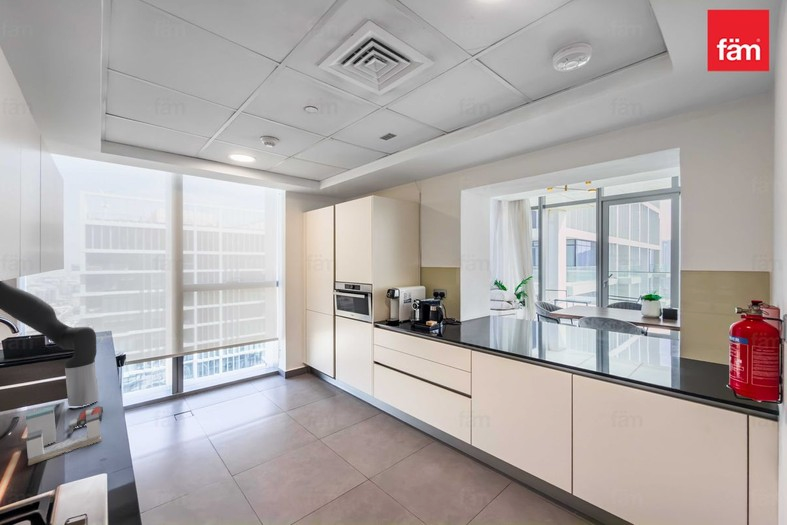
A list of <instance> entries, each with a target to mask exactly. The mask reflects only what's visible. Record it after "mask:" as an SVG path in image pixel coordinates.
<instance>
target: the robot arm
mask: <svg viewBox="0 0 787 525" xmlns="http://www.w3.org/2000/svg"><path fill="white" fill-rule="evenodd" d="M0 310H1V311H3V312H4V313H6V314H8V315H9V316H11V317H12V318H13V319H15V320H17V321H19V322H21V323H22V324H23V325H26V326H28V327H30V328H31V329H33V330H34V331H36V332H38V333H40V334H41V335H43V336H44V337H46V338H47V339H48V340H50V341H51V342H52V343H54V344H55V345H56V346H58V347H59V348H61V349H63V350H67V351H68V350H69V351H71V350H73V356H72V357H71V358H67V360H65V361H64V371H65V384H66V393H67V395H66V396H67V406H68V405H69V406H83V405H87V404H91V403H93V402H95V401H97V400H98V401H99V399H98V397H99V385H98V377H97V372H96V361H95V360H96V355H97V335H96V332H95V330H94V329H93V328H92V327H89V326H81V327H80V326H79V327H72V326H68V324H67V325H66V324H65V323H64V322H62V321H60V320H59V319H58V318H57V316H56V314H57V313H56V312H55V309H54V308H53V307H52V306H51V305H50V304H49V303H47V302H46V301H44V300H43V299H42V298H40V297H38V296H37V295H35V294H33V293H31V292H28V291H26V290H23V289H20V288H18V287H16V286H13V285H11V284H9V283H7V282H5V281H4V280H2V281H0Z"/></svg>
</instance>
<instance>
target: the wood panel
mask: <svg viewBox="0 0 787 525" xmlns="http://www.w3.org/2000/svg"><path fill="white" fill-rule="evenodd" d="M96 442H97V443H100V442H102V437H101V435H100V438H98V439H95V440H92V441H89V442H86V443H83V444H80V445H77V446H74V447H71V448H68V449H65V450H62V451H59V452H56V453H53V454H50V455H47V456H44V457H41V458H38V459H35V460H32V461H29V459H28V461H27V466H31V465H34V464H37V463H40V462H43V461H45V460H49V459H52V458H55V457H57V456H56V455H58V454H60V453H63V452H66V451H69V450H73V449H76V448H79V447H82V448H85V447H88V446H90V444H91V445H93V443H94V444H96ZM87 445H88V446H87ZM84 446H85V447H84ZM79 449H80V448H79ZM76 450H77V449H76ZM73 451H74V450H73ZM54 456H55V457H54ZM58 456H59V455H58Z"/></svg>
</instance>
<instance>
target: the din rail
mask: <svg viewBox="0 0 787 525" xmlns="http://www.w3.org/2000/svg"><path fill="white" fill-rule="evenodd" d="M100 436H101V435H99V436H95V437H92V438H89V439H88V434H87V433H86V434H84V435H80V436H75V438H70V439H67V440H64V441H61V442H58V443H54V444H51V445H47V446H44V450H43V454H41V455H38V456H35V457H32V458H29V459H28V460H29V461H32V460H35V459H38V458H41V457H44V456H47V455H50V454H53V453H56V452H59V451H62V450H65V449H68V448H71V447H74V446H77V445H80V444H83V443H86V442H89V441H92V440H95V439H98V438H100Z"/></svg>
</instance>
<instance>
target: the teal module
mask: <svg viewBox="0 0 787 525" xmlns="http://www.w3.org/2000/svg"><path fill="white" fill-rule="evenodd" d="M25 422H26V432H27V434H28V433H32V432H35V431H38V430H42V435H43V446H44V447H47V446H49V445H52V444H51V443H53V442H56V443H57V427H56V418H55V406H53V405H52V406H49V407H46V408H45V407H44V408H40V409H37V410H33V411H29V412H27V413H26V416H25ZM48 444H49V445H48ZM53 444H54V443H53Z"/></svg>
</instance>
